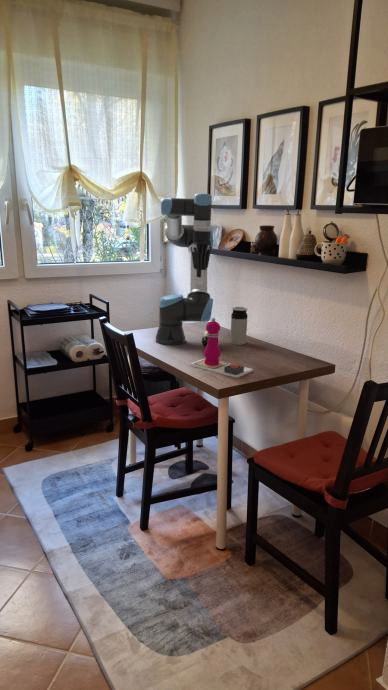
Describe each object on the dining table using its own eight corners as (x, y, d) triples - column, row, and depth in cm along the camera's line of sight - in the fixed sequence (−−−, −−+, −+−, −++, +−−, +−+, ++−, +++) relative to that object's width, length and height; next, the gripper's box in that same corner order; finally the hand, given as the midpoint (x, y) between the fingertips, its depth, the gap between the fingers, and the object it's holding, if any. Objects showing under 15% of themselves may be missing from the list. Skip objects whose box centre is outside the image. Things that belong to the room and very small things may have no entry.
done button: (232, 368, 209) (233, 362, 208) (240, 369, 207) (240, 364, 206) (227, 370, 206) (228, 364, 206) (235, 371, 204) (235, 366, 203)
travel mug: (228, 344, 253) (229, 308, 248) (232, 340, 260) (234, 306, 256) (243, 346, 250) (245, 310, 246) (247, 342, 258) (249, 307, 253)
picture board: (206, 359, 226) (207, 352, 225) (252, 371, 212) (253, 363, 211) (190, 365, 217) (190, 358, 216) (236, 378, 202) (237, 370, 202)
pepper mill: (219, 366, 213) (220, 320, 208) (202, 365, 214) (203, 319, 209) (221, 361, 220) (222, 316, 215) (204, 360, 221) (206, 315, 216)
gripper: (199, 231, 213) (197, 286, 219) (217, 230, 223) (215, 283, 229) (185, 230, 218) (184, 284, 224) (204, 229, 228) (202, 282, 234)
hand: (200, 284), depth 227 cm, fingers closed
